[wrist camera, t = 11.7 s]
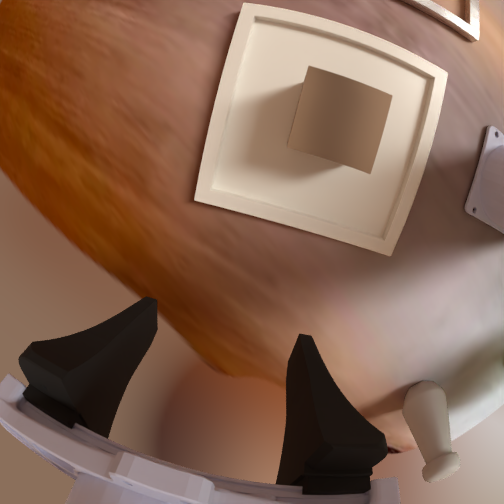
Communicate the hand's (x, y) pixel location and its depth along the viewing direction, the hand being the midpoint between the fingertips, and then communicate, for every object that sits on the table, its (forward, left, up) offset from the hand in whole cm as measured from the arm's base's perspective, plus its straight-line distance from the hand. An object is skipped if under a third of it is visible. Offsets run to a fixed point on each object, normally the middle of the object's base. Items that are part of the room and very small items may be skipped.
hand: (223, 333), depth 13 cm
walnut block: (-3, -11, -9) cm, 14 cm away
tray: (-3, -11, -10) cm, 15 cm away
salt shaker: (-25, +12, -10) cm, 29 cm away
